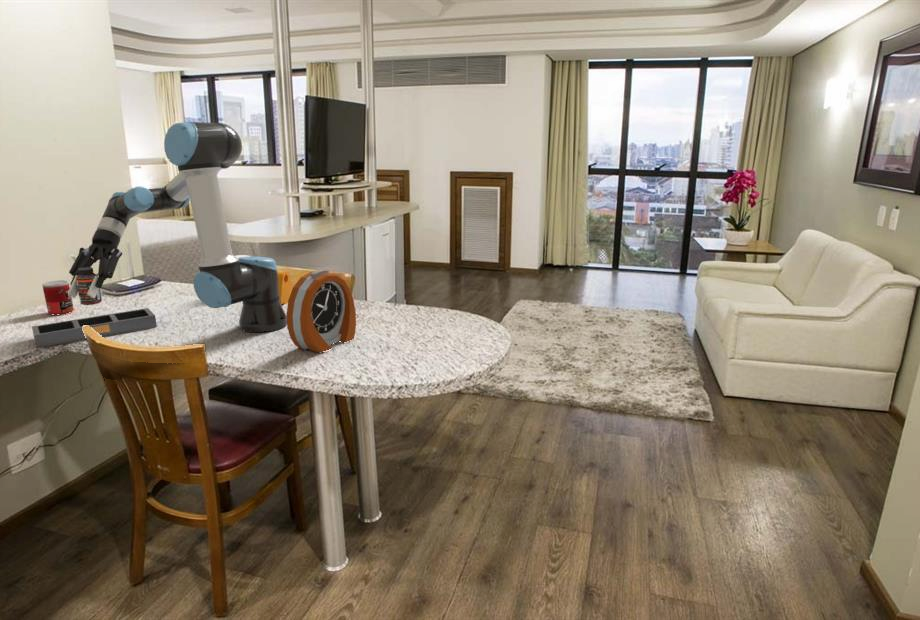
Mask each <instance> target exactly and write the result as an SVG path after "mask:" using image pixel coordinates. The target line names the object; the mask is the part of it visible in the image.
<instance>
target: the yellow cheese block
mask: <svg viewBox="0 0 920 620" xmlns="http://www.w3.org/2000/svg"><path fill="white" fill-rule="evenodd" d="M277 271H278V272H277V275H278V287H279V299H280V303H281V305H284V304H285V305H288V300H289V297H290V294H291V292H292V289H293V287H294V286H293V283H292V279H291V277H290V274H289V272H288V271H284V270H283V271H282V270H277Z"/></svg>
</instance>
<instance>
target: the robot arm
mask: <svg viewBox="0 0 920 620" xmlns="http://www.w3.org/2000/svg"><path fill="white" fill-rule="evenodd" d="M163 140H164V141H163V142H164V143H163V147H164V153H165V157H166V159H168V161H169V163H171V164H173V165H174V166H177V170H178V174H175V176H174V177H173V178H172V179H171V180H170V181H169V182H168V183H166V185H164V186H163V187H153V188H147V187H143V186H136V187H135V186H134V187H132V188H130V189H128V190H126V192H124V191H117V192H116V191H115V192H114V193H113V194H112V195H111V197H110V198H109V200H108V203H107V206H106V208H105V210H104V212H103V214H102V217H101V219H100V221H99V224H97V227H96V230H95V232H94V233H93V235H92V238H91V244H90V245H89V246H88V247H87V248H84V247H80V248H79V250H78V255H77V256H76V259H75V260H74V262H73V264H72V266H71V268H70V269H69V271H68V273H69V275H71V276H72V278H71V279H72V280H71V281H70V283H69V287H70V289H69V291H68V294H69V295H70V296H71V297H72V299H73V298H74V299H75V298H77V295H78V294H79V293H78V288H77V282H76V277H77V276H78V275H79V273H78V269H79V268H83V267H92V266H93V265H94V264H97V262H98V261H99V263H98V271H97V273H96V275H97V276H95V277H94V279H93V282H92V284H91V286H90V288H89V291H88V293H87V294H88V295H89V296H90V297H91V298H95V297H96V294H97V292H98V290H99V288H100V289H101V288H102V287H103V285H104V282H105V281H106V280H107V279H110V280H111V279H112V278H113V276H114V273H115V272H116V271H115V270H116V269H117V266H118V262H119V260H120V258H121V257H122V255H123V252H122V251H121V250H120V249H119V248H118V247H119V245H120V242H121V239H122V237H123V235H124V233H125V230H126V229H127V226H128V224H129V221H130V219H132V218H134V217H136V216H137V215H140V214H144V213H151V212H159V211H160V212H161V211H168V210H180V209H181V208H182V209H183V208H186V207H187V206H188V205H189V202H190V206H191V210H192V215H193V219H194V224H195V229H196V234H197V238H198V242H199V243H198V244H199V249H200V253H201V260H200V263H199V264H198V270H199V272H197V273H196V274H195V275H194V277H193V282H192V283H193V289H194V292H195V294H196V297H198V299H199V300H200V301H201V302H202V303H203V305H205V306H207V307H208V308H211V309H220V308H226V307H229V306H231V305H235V304H237V303H241V302H242V306H241V311H240V315H239V319H238V327H239V330H241V329H242V330H241V331H243V330H245V331H244V332H246V331H251V332H250V333H265V332H264V331H268V332H272V331H277V330H280V329H283V328H284V327H287V316H286V315H287V313H285V310H284V307H283V306H282V305H283V304H281V303H280V299H279V287H278V275H277V272H278V271H279V270H278V269H277V262H276V261H275V259H273V257H272V258H271V257H267V256H266V257H265V256H250V257H240V258H236V257H235V256H236V255H234V254H233V250H232V244H231V240H230V234H229V230H228V225H227V220H226V219H227V218H226V214H225V210H224V209H225V208H224V204H223V199H222V193H221V189H220V188H221V187H220V183H219V179H218V174H219V173H220V171H221V170H224V169H226V170H227V169H228V168H230V167H231V166H232V165H234V163H236V162H237V160H239V158H240V156H241V155H242V150H243V144H242V139H241V137H240V135H239V134H238V132H237V131H236V130H235V129H234V128H233V127H232V126H230V125H228V124H227V123H226V124H225V123H223V122H200V121H197V122H196V121H185V122H176V123H174V124H172V125H170V127H169V128H168V129H167V131H166V133H165V137H164V139H163Z"/></svg>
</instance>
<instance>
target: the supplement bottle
mask: <svg viewBox="0 0 920 620" xmlns="http://www.w3.org/2000/svg"><path fill="white" fill-rule="evenodd" d="M78 273H79V275H78V276H77V277H76V282H77V288H78V293H77V294H78V298H79V303H80V305H84V306H92V305H97V304H100V303H102V300H103V298H102V294H101V288H99V290H98V292H97V294H96V297H95V298H91V297H90V296H89V295H88V294H87V293H88V291H89V288H90V286H91V284H92V282H93V279H94V277H95V276H98V275H97V273H95V272H94V268H93V267H92V266H91V267H83V268H79V269H78Z"/></svg>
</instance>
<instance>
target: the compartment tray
mask: <svg viewBox="0 0 920 620" xmlns="http://www.w3.org/2000/svg"><path fill="white" fill-rule="evenodd" d="M83 325H89V326H90V327H92V328H93V329H94V330H95V331H96V332H98V333H99V334H100V335H102V336H103V337H108V336H114V335H119V334H125V333H130V332H132V333H133V332H136V331H142V330H147V329H155V328H157V327H158V326H157V325H158V324H157V320H156V315H155V314H154V313H153V312H152V311H151V309H149V307H147V308H141V309H140V308H139V309H134V310H127V311H121V312H115V313H110V314H103V315H96V316H95V315H94V316H90V317H84V318H83V317H82V318H78V319H69V320H63V321H60V322H59V321H58V322H51V323H46V324H39V325H34V326H31V330H32V335H33V338H34V344H35V347H36V349H39V348H40V349H41V348H47V347H51V346H58V345H63V344H68V343H69V344H70V343H74V342H81V341H86V340H87V339H86V338H85V336H84V333H83V331H82V326H83Z"/></svg>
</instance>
